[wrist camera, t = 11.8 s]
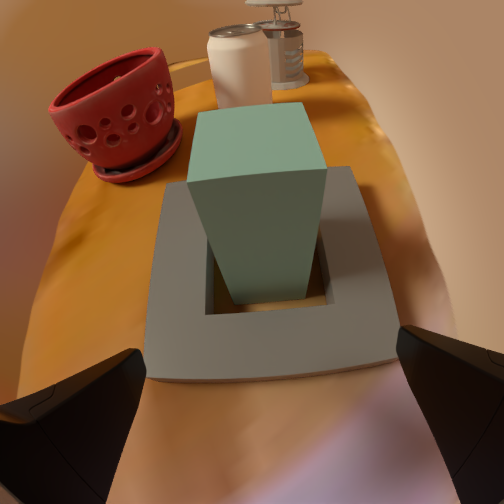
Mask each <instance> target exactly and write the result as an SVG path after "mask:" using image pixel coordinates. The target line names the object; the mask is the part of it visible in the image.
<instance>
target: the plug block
mask: <svg viewBox="0 0 504 504" xmlns="http://www.w3.org/2000/svg"><path fill="white" fill-rule="evenodd" d="M326 176H327V166H326V163H325V160H324V158H323V155H322V152H321V149H320V147H319V144H318V141H317V139H316V136H315V133H314V131H313V128H312V126H311V123H310V121H309V118H308V116H307V113H306V111H305V109H304V106H303V104H302V102H294V103H276V104H263V105H252V106H242V107H234V108H226V109H219V110H212V111H205V112H199V113H198V117H197V122H196V127H195V133H194V138H193V144H192V150H191V156H190V162H189V169H188V175H187V182H186V183H187V185H188V188H189V191H190V194H191V196H192V199H193V202H194V204H195V207H196V210H197V212H198V215H199V217H200V220H201V223H202V225H203V228H204V230H205V233H206V236H207V238H208V241H209V243H210V246H211V248H212V251H213V253H214V256H215V258H216V261H217V263H218V266H219V268H220V271H221V273H222V276H223V278H224V281H225V283H226V285H227V288H228V290H229V293H230V295H231V298H232V300H233V302H234V305H241V304H253V303H265V302H276V301H286V300H296V299H305V296H306V292H307V287H308V282H309V277H310V272H311V267H312V261H313V256H314V250H315V245H316V239H317V234H318V228H319V222H320V216H321V209H322V203H323V197H324V190H325V183H326Z"/></svg>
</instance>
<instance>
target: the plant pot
mask: <svg viewBox="0 0 504 504" xmlns="http://www.w3.org/2000/svg"><path fill="white" fill-rule="evenodd" d="M118 76H121V77H120V78H119V79H117V80H115V81H114V79H115V78H116V77H118ZM157 85H158V88H159V90H158V88H157ZM49 114H50V116H51V117H52V119H53V121H54V123H55V125H56V126H57V127H58V129H59V131H60V132H61V134H62V135H63V137H64V138H65V139H66V141H67V142H68V143H69V144H70V145H71V147H73V149H75V150H76V151H77V152H78V153H79V154H80V155H81V156H82V157H84V158H85V159H86V160H88V161H90V162H91V163H93V171H94V173H95V175H96V176H97V177H98V178H100V179H101V180H103V181H106V182H111V183H121V182H127V181H132V180H135V179H137V178H140V177H142V176H145V175H147V174H149V173H150V172H152V171H154V170H155V169H157V168H158V167H160V166H161V165H162V164H164V163H165V162H166V161H167V160H168V159H169V158H170V157H171V156H172V155H173V154H174V152H175V151H176V149H177V148H178V146H179V144H180V141H181V139H182V133H183V129H182V125H181V123H180V122H179V121H178V120H177V119H175V118H174V95H173V88H172V81H171V77H170V73H169V69H168V65H167V62H166V58H165V56H164V53H163V51H162V49H160V48H157V47H149V48H144V49H139V50H135V51H132V52H129V53H126V54H123V55H121V56H118V57H116V58H113V59H111V60H109V61H107V62H105V63H103V64H101V65H99V66H97V67H95V68H94V69H92V70H90V71H88V72H87V73H85V74H84V75H82V76H81V77H79V78H77V79H76V80H75V81H74V82H72V83H71V84H70V85H68V86H67V87H66V88H65V89H64V90H62V91H61V93H59V94H58V95H57V96H56V98H55V99H54V100H53V101H52V103H51V104H50V106H49Z"/></svg>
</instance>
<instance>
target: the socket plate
mask: <svg viewBox="0 0 504 504" xmlns="http://www.w3.org/2000/svg"><path fill="white" fill-rule="evenodd" d="M186 182H187V180H186V181H179V182H173V183H167V184H166V189H165V193H164V198H163V204H162V209H161V214H160V220H159V225H158V231H157V237H156V244H155V250H154V257H153V264H152V271H151V279H150V288H149V297H148V306H147V317H146V329H145V342H144V362H145V365H146V369H147V374H146V378H148V379H151V380H155V381H158V382H180V383H230V382H254V381H269V380H281V379H292V378H301V377H310V376H318V375H325V374H332V373H338V372H345V371H350V370H356V369H362V368H367V367H372V366H377V365H382V364H386V363H391V362H393V361H395V360H397V359H399V358H398V356H397V353H396V343H397V337H398V331H399V328H400V323H399V318H398V314H397V310H396V305H395V301H394V297H393V293H392V289H391V286H390V282H389V278H388V274H387V271H386V267H385V264H384V261H383V257H382V254H381V251H380V247H379V244H378V241H377V238H376V235H375V232H374V229H373V226H372V223H371V220H370V217H369V214H368V212H367V209H366V206H365V203H364V201H363V198H362V195H361V193H360V190H359V188H358V185H357V182H356V180H355V177H354V175H353V173H352V170H351V168H350V166H341V167H327V176H326V183H325V190H324V197H323V203H322V209H321V216H320V222H319V228H318V234H317V239H316V246H317V251H318V257H319V262H320V267H321V273H322V278H323V284H324V290H325V296H326V302H327V305H321V306H312V307H303V308H293V309H283V310H271V311H260V312H246V313H232V314H215V315H214V253H213V251H212V248H211V246H210V243H209V241H208V238H207V236H206V233H205V230H204V228H203V225H202V223H201V220H200V217H199V215H198V212H197V210H196V207H195V204H194V202H193V199H192V196H191V194H190V191H189V188H188V185H187V183H186Z"/></svg>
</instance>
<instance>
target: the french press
mask: <svg viewBox="0 0 504 504" xmlns="http://www.w3.org/2000/svg"><path fill="white" fill-rule="evenodd" d="M302 3H303V1H302V0H247V1H246V2H245V4H247V5H248V6H256V7H271V6H272V7H273V8H274V20H273V21H270V20H269V21H268V20H267V21H259V22H256V23H253V24H255V25H260V26H262V27H263V29H262V31H263V33H264V34H265V36H266V37H267V39H268V47H269V58H270V72H271V87H272V90H287V89H294V88H298V87H301V86H304V85H306V84H307V83H308V82H309V76H308V75H307V74H306V73H304V72H303V61H302V62H300V61H301V60H303V33H302V32H301V31H299V30H295V29H297V28H299V27H300V24H299V23H297V22H294V21H291V19H290V13H289V9H288V7H287V6H296V5H301V4H302ZM277 6H285V12H279V9H278V7H277ZM276 8H277V11H278V12H277V11H276ZM287 10H288V15H289V21H281V18H280V13H281V14H283V13H286V11H287ZM275 12H276V13H278V14H279V20H277V21H276V16H275ZM281 31H284V37H285V38H280V36H281ZM301 45H302V47H301V49H298V48H299V47H300V46H301ZM301 53H302V55H300V54H301ZM285 59H286V62H285ZM298 59H299V60H298Z"/></svg>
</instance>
